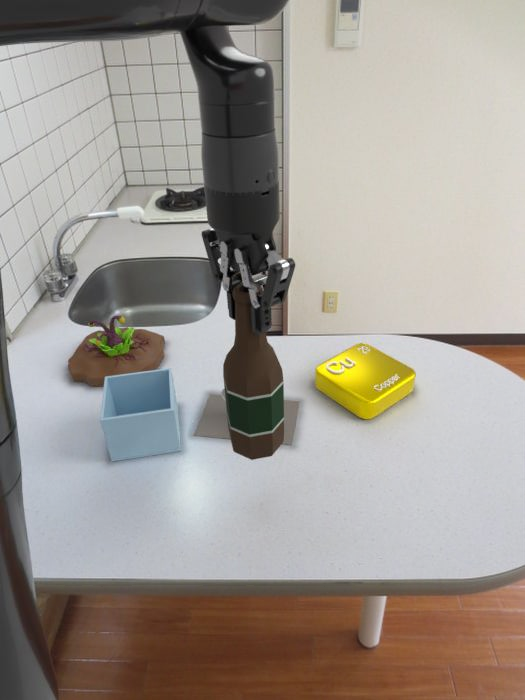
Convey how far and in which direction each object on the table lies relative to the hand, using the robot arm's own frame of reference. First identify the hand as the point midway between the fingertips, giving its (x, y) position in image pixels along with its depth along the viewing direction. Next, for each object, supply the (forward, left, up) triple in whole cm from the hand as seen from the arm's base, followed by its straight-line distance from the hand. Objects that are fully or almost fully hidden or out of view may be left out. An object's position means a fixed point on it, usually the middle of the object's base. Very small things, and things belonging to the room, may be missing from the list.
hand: (249, 323), depth 62 cm
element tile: (+25, -25, -34) cm, 50 cm away
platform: (+21, -1, -34) cm, 41 cm away
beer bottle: (0, 0, -19) cm, 19 cm away
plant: (+46, +24, -34) cm, 62 cm away
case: (+21, +18, -34) cm, 44 cm away
